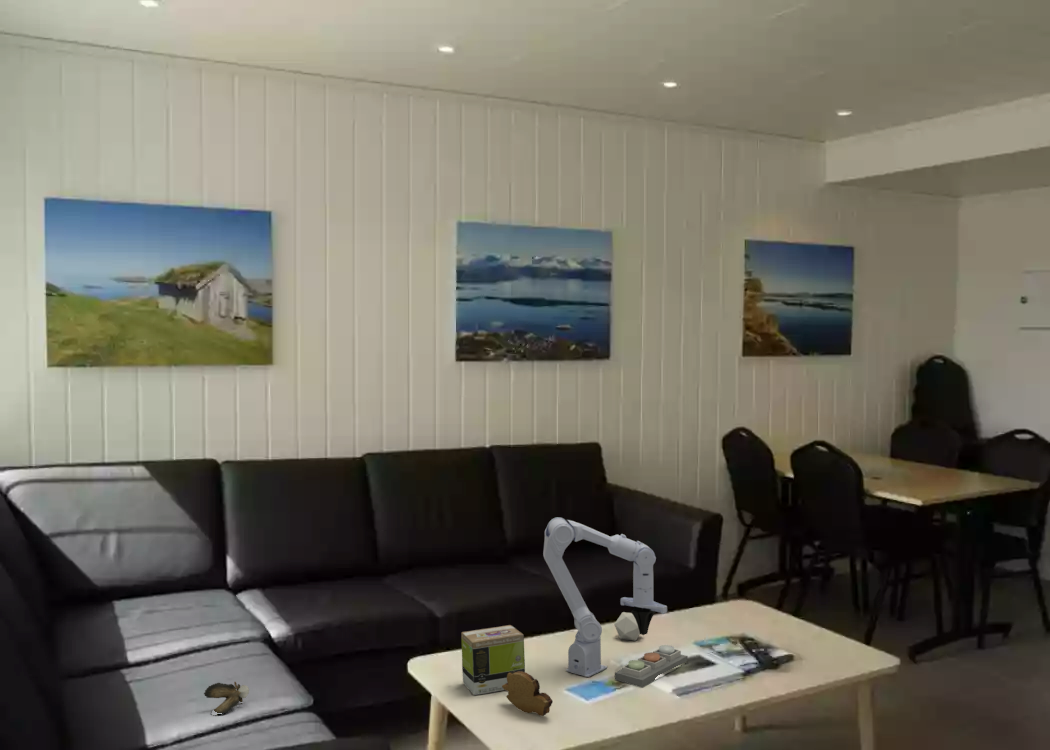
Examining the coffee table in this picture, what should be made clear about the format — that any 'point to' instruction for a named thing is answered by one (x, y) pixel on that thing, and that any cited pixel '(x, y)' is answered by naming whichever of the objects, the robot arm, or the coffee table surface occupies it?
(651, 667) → the button panel
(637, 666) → the sage button
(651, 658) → the terracotta button
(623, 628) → the die
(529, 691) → the wooden carving
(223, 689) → the eagle figurine
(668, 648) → the blue-grey button
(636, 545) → the robot arm
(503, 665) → the tea box
